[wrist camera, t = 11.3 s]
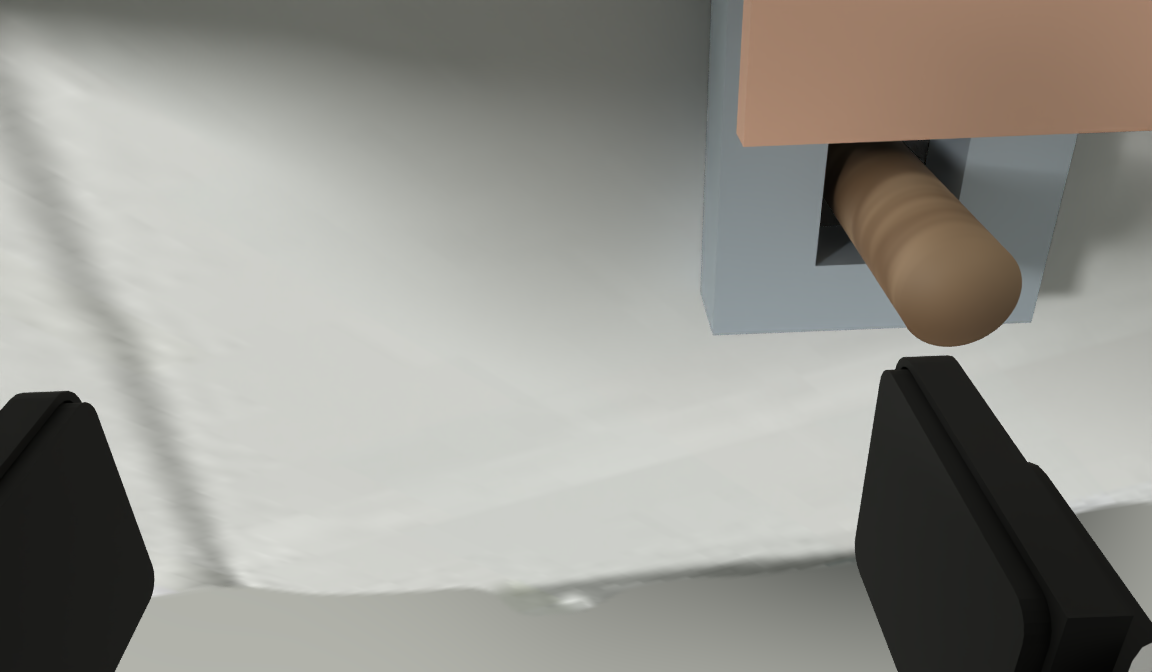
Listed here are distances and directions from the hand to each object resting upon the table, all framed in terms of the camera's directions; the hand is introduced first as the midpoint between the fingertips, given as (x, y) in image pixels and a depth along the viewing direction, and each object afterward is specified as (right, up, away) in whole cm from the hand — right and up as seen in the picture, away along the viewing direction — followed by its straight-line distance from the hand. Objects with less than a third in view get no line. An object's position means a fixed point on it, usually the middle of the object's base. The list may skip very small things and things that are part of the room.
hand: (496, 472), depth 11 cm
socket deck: (+14, +12, +29) cm, 34 cm away
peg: (+14, +9, +30) cm, 34 cm away
